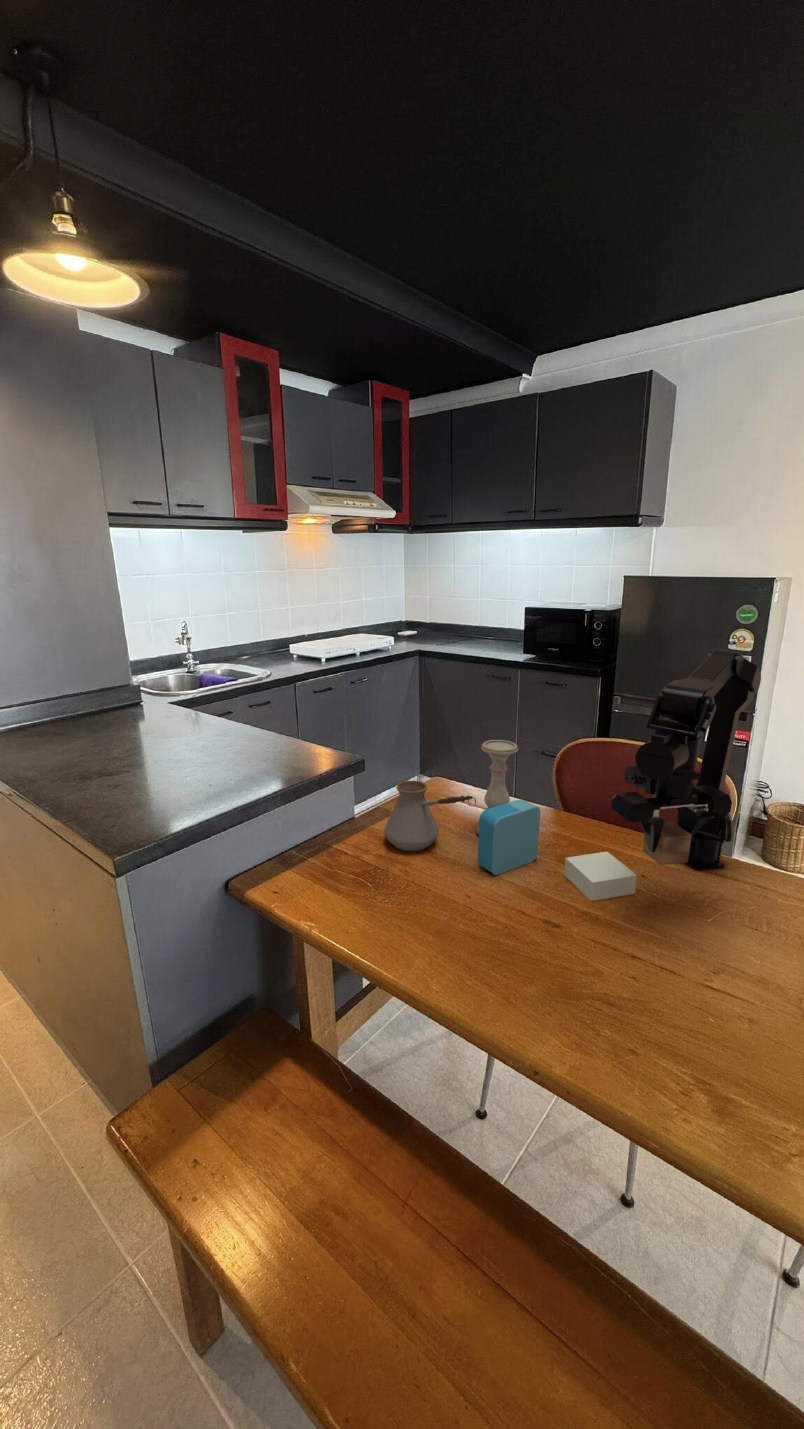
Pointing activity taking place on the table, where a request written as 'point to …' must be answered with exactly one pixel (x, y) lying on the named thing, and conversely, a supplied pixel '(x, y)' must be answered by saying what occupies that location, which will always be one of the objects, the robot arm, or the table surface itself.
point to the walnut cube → (671, 845)
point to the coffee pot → (414, 817)
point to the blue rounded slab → (508, 836)
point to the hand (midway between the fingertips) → (665, 849)
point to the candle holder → (497, 772)
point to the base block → (600, 876)
